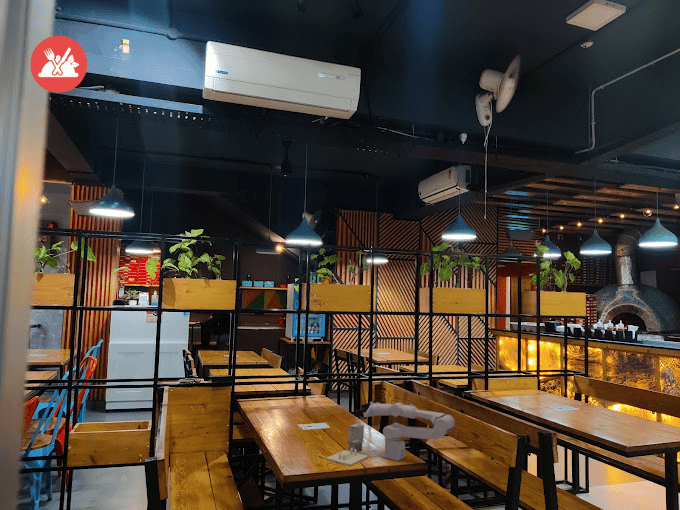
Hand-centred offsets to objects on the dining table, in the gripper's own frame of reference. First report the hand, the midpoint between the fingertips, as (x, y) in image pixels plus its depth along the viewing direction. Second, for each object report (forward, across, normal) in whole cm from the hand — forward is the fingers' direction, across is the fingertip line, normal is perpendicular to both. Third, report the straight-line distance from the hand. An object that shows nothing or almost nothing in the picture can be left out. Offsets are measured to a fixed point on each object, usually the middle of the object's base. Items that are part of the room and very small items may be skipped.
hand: (358, 409), depth 260 cm
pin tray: (-2, +20, +16) cm, 26 cm away
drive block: (+2, +8, +19) cm, 20 cm away
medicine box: (+11, -7, +20) cm, 24 cm away
